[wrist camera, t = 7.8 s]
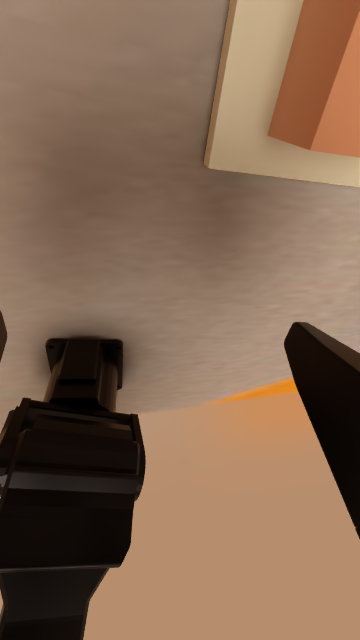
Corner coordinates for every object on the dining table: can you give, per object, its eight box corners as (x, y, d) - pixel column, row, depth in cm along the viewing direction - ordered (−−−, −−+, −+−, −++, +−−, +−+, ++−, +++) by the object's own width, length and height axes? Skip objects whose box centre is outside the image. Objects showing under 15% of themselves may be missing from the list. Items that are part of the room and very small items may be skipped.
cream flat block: (371, 184, 20) (399, 195, 18) (203, 163, 18) (212, 173, 16) (484, -39, 14) (547, -62, 12) (248, -112, 12) (272, -157, 10)
